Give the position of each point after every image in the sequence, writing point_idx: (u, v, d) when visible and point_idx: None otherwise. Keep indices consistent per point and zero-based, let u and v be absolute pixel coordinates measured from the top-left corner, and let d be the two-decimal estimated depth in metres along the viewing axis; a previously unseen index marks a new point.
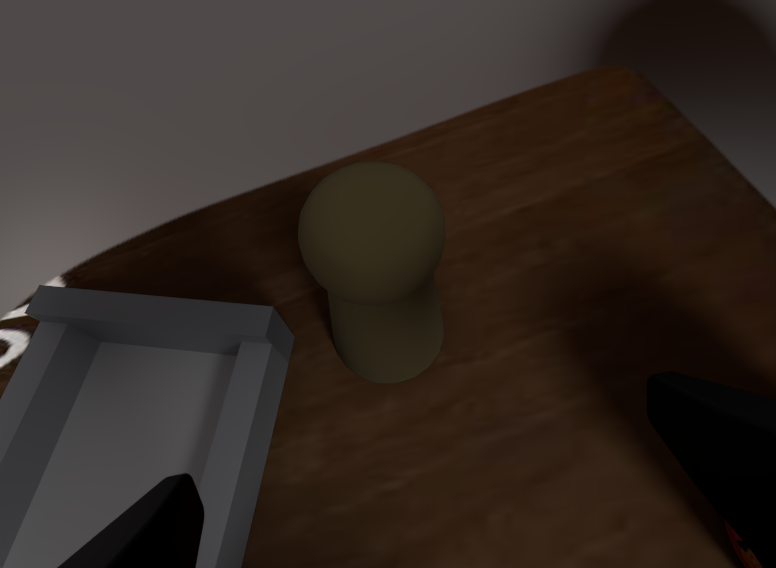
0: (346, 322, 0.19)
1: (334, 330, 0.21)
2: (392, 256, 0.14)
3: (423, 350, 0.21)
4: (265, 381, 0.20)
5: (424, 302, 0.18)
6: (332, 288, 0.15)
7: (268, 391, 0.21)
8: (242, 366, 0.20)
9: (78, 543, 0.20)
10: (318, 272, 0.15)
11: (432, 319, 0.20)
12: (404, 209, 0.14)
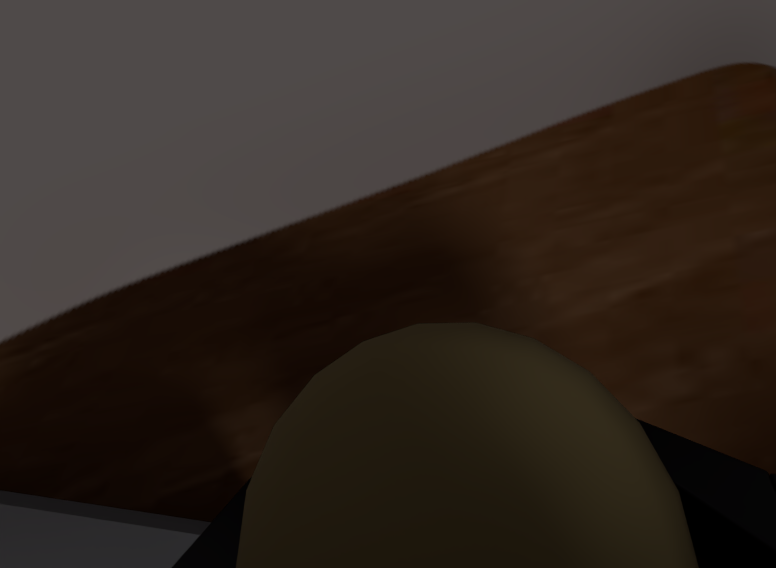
0: None
1: None
2: None
3: None
4: None
5: None
6: None
7: None
8: None
9: None
10: None
11: None
12: (604, 565, 0.04)
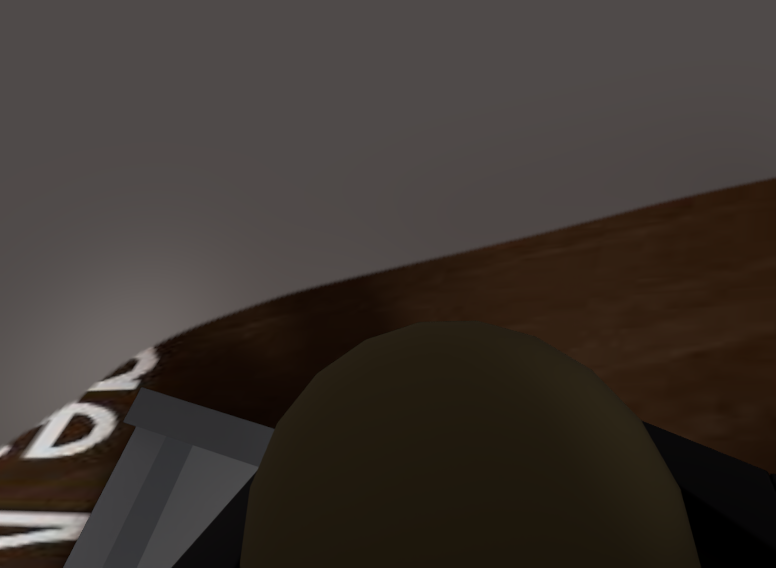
0: None
1: None
2: None
3: None
4: None
5: None
6: None
7: None
8: None
9: None
10: None
11: None
12: (606, 563, 0.04)
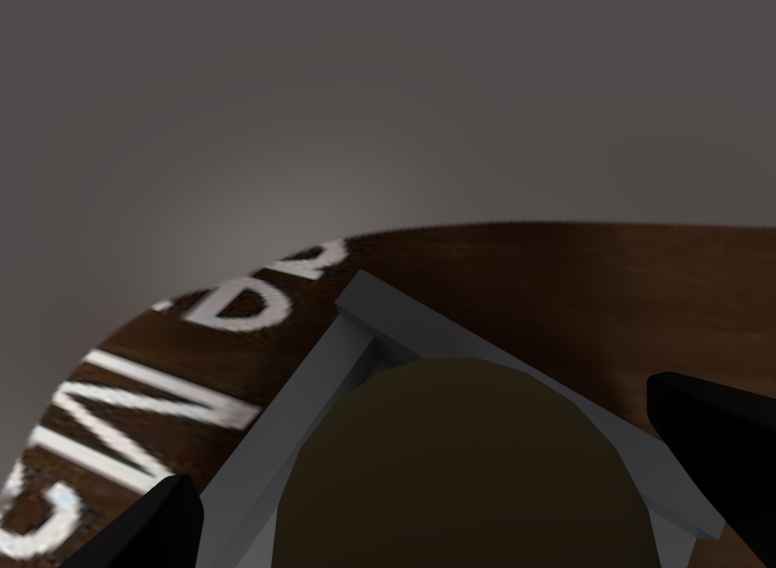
0: None
1: None
2: None
3: None
4: None
5: None
6: None
7: None
8: None
9: None
10: None
11: None
12: None
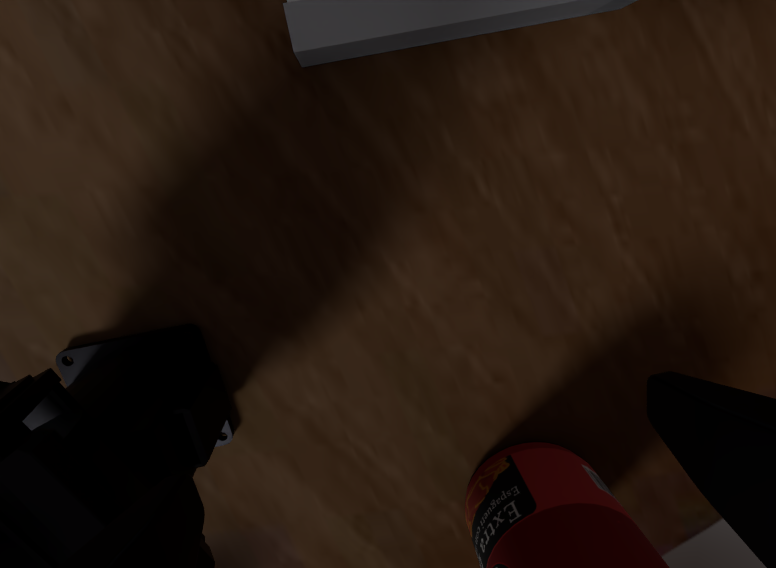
0: None
1: None
2: None
3: None
4: (577, 3, 0.16)
5: None
6: None
7: (561, 9, 0.17)
8: None
9: None
10: None
11: None
12: None
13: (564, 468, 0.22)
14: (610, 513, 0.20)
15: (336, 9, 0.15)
